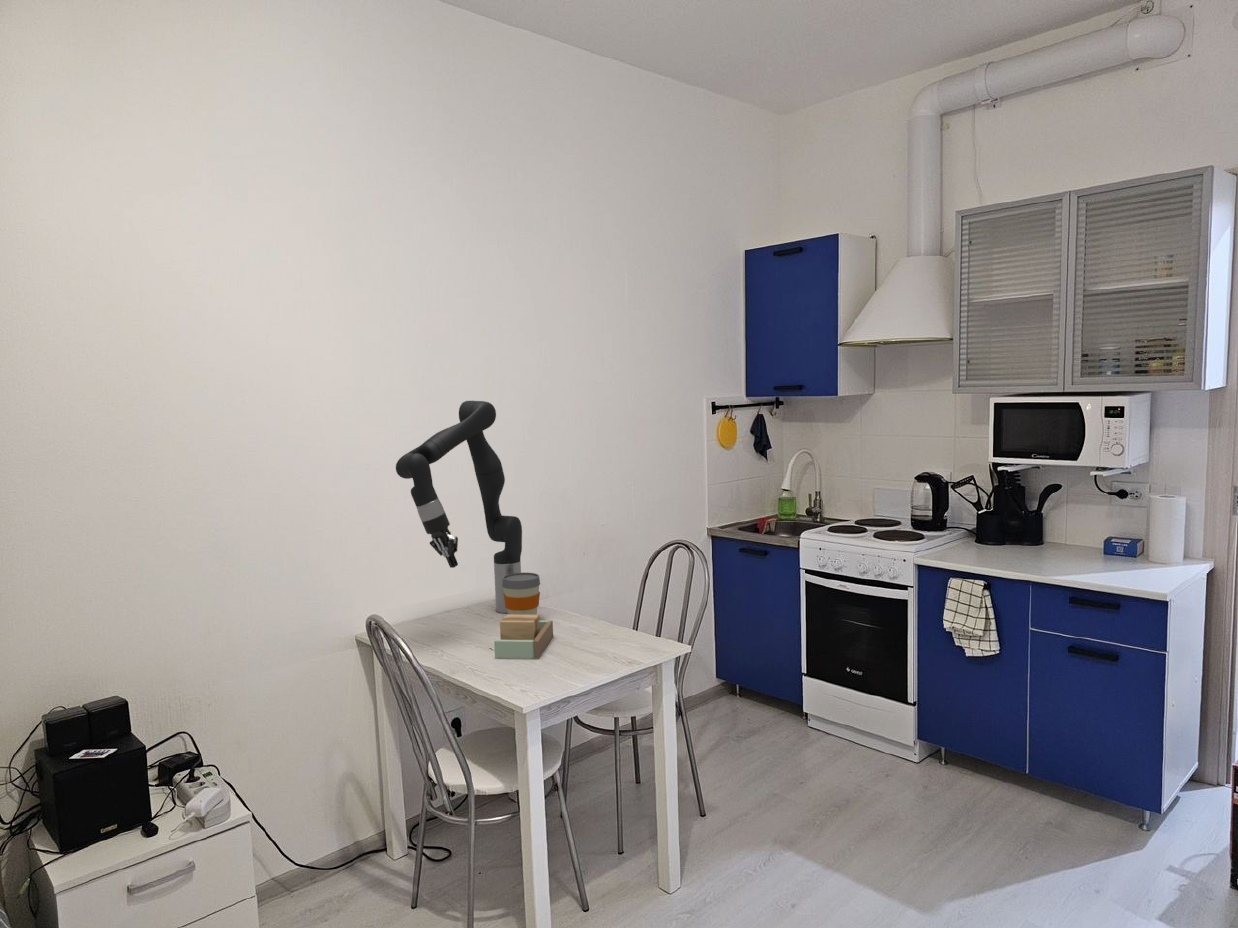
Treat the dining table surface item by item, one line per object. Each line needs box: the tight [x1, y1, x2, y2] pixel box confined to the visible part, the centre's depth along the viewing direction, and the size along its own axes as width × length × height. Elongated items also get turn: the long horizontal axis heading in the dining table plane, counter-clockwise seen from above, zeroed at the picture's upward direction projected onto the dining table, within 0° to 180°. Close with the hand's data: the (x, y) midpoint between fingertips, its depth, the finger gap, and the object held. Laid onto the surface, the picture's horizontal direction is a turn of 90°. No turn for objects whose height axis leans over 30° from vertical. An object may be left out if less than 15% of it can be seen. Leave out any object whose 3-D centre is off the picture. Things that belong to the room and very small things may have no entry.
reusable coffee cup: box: [502, 572, 541, 615], centre depth 271 cm, size 12×13×15 cm
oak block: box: [499, 613, 541, 640], centre depth 243 cm, size 8×10×9 cm
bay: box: [493, 620, 554, 660], centre depth 244 cm, size 21×13×5 cm, turn 173°
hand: (454, 566), depth 253 cm, fingers closed
